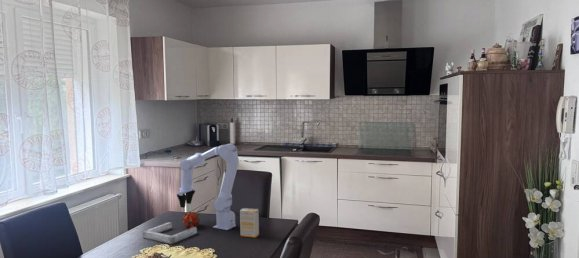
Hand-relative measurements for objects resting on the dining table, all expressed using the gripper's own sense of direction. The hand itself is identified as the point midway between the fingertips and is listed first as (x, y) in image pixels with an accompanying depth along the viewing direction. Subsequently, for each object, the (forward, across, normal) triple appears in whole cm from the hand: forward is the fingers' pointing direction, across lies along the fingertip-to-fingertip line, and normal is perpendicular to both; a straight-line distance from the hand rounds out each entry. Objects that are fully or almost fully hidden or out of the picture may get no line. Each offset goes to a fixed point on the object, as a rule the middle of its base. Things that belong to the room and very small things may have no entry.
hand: (185, 205), depth 209 cm
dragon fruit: (+10, +6, +6) cm, 13 cm away
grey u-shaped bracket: (+10, +19, +2) cm, 21 cm away
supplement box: (+7, +14, +40) cm, 43 cm away
